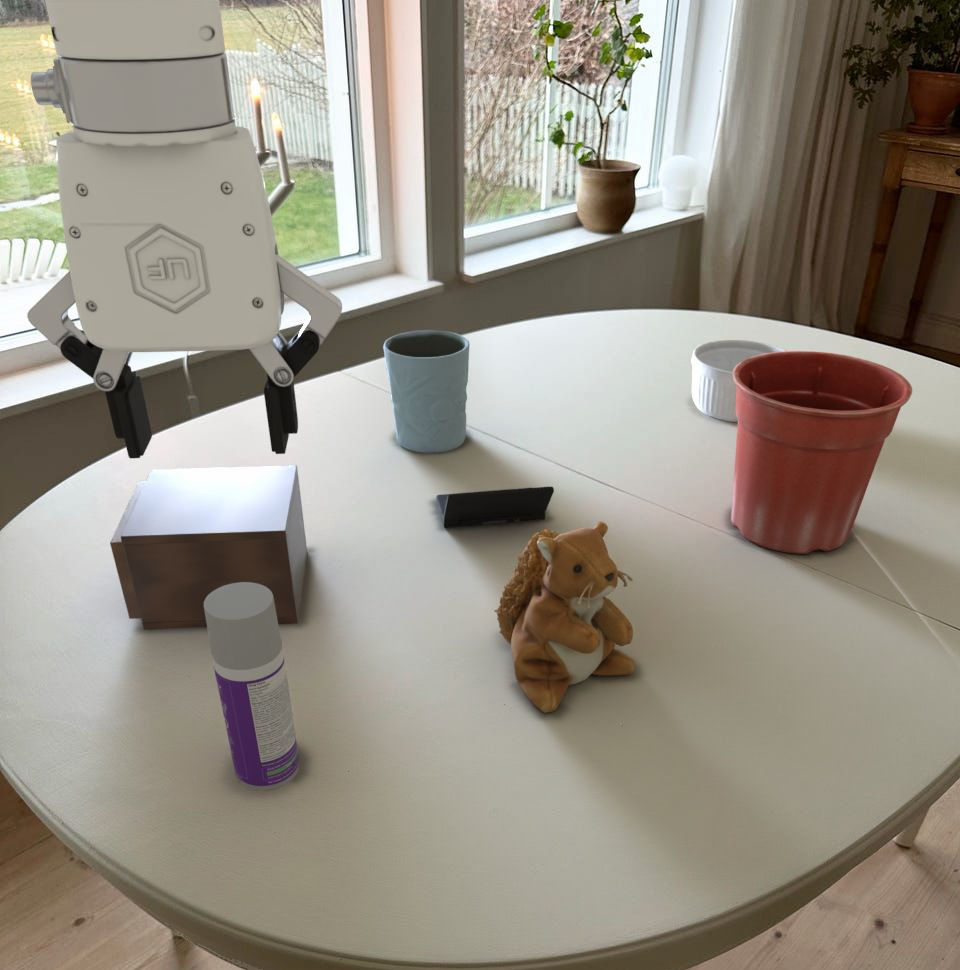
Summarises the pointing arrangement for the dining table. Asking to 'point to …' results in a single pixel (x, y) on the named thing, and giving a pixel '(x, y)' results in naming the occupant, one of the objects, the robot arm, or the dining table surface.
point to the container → (252, 684)
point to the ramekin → (721, 374)
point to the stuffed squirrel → (564, 614)
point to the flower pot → (808, 444)
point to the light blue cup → (428, 388)
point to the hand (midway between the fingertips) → (211, 444)
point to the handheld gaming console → (494, 506)
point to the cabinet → (215, 540)
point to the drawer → (121, 558)
